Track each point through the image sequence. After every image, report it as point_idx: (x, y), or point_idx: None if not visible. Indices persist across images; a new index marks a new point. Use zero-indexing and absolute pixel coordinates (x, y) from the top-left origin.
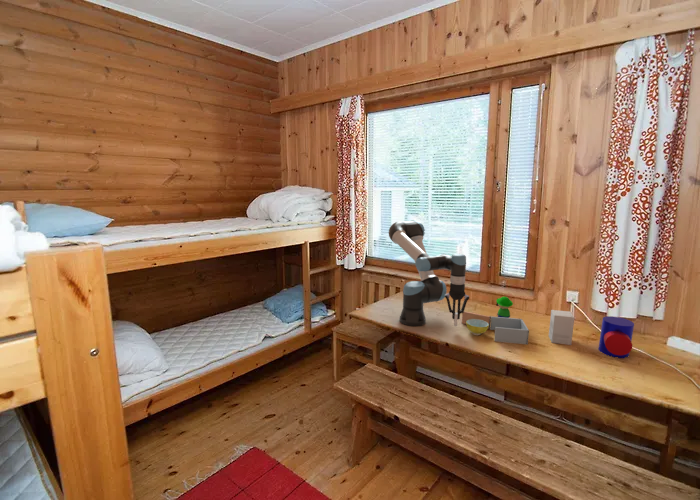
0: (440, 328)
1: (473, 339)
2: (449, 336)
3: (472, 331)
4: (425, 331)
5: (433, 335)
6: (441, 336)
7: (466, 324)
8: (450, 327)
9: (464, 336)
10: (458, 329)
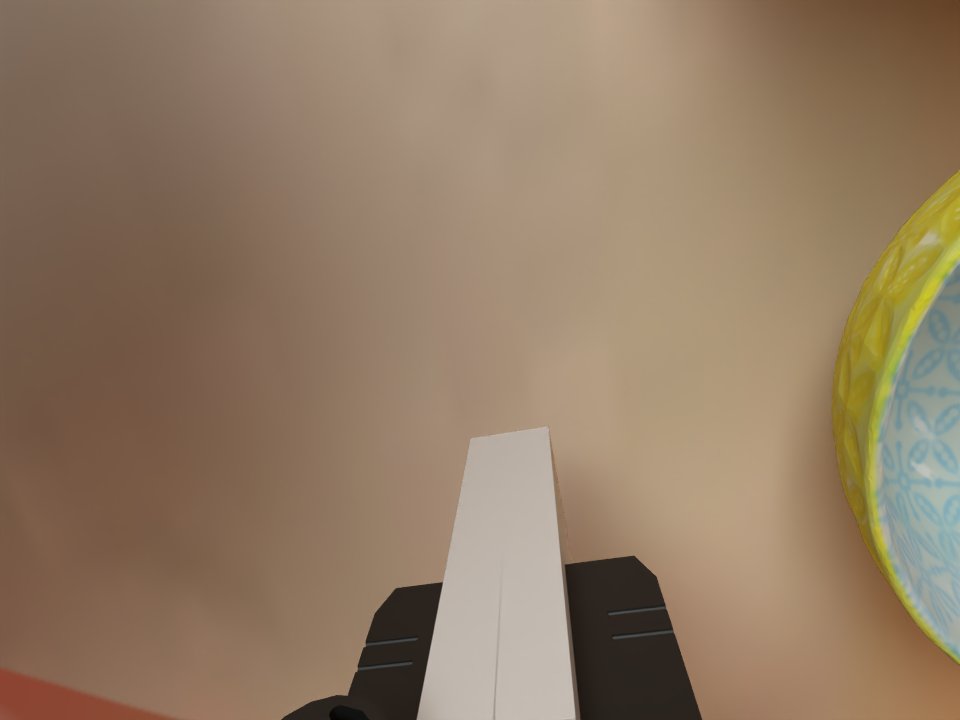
0: (203, 362)
1: (882, 613)
2: None
3: (931, 520)
4: (18, 595)
5: (198, 689)
6: (327, 681)
7: (840, 452)
8: (384, 215)
9: (716, 552)
10: (574, 257)
